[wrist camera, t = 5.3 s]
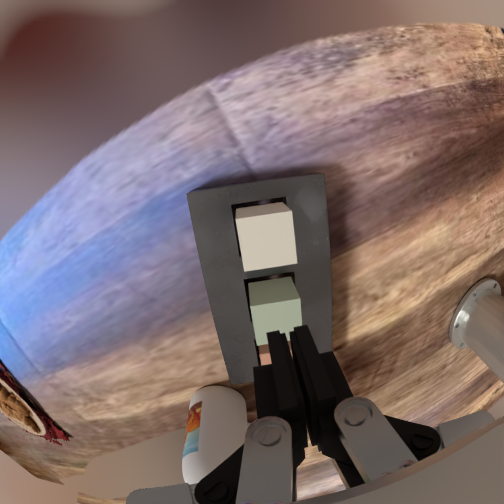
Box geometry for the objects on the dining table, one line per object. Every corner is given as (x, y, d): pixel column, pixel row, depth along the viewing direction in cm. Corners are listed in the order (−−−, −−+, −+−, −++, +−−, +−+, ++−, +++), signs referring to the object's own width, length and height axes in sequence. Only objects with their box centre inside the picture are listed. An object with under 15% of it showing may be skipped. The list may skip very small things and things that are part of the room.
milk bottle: (220, 375, 33) (213, 521, 14) (257, 403, 35) (268, 531, 16) (179, 397, 34) (158, 524, 15) (217, 422, 36) (213, 538, 17)
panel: (316, 172, 25) (324, 173, 23) (325, 355, 33) (331, 368, 30) (191, 190, 26) (186, 193, 23) (231, 370, 33) (231, 384, 30)
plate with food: (-7, 345, 32) (-16, 354, 29) (71, 437, 39) (66, 447, 36) (-32, 361, 35) (-38, 368, 31) (29, 434, 42) (24, 442, 39)
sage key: (290, 276, 26) (300, 298, 22) (294, 312, 27) (302, 338, 23) (248, 283, 26) (250, 306, 22) (254, 319, 27) (257, 345, 23)
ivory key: (282, 202, 24) (291, 210, 19) (287, 245, 25) (297, 263, 21) (236, 208, 24) (235, 219, 19) (243, 252, 25) (244, 271, 21)
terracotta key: (292, 324, 30) (299, 347, 26) (294, 351, 32) (301, 375, 27) (256, 330, 30) (259, 354, 26) (261, 356, 32) (264, 381, 27)
